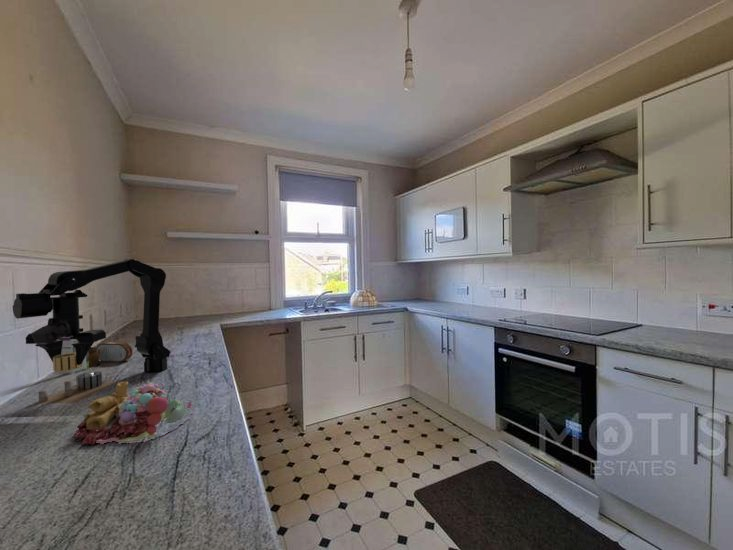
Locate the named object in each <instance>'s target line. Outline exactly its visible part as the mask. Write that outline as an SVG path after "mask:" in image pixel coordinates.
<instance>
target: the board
mask: <svg viewBox="0 0 733 550" xmlns="http://www.w3.org/2000/svg"><path fill="white" fill-rule="evenodd" d="M63 383H64V389H63V390H61V391H59V392H57V393H53V394H52V395H50V396H48V390H47V389H44V390H40V391H38V400H37V401H35V402H33V404H34V405H36V404H60V403H61V404H63V403H64V404H65V403H66V404H67V403H79V402H80V401H82V400H84V399H87V398H88V397H90V396H92V395H95V394H96V393H99V392H100V391H103V390H104V389H107V388H109V387H111V386H113V385H114V384H116V383H117V384H118V381H102V385H101V386H100V387H97V388H94V389H90V390H77V384H74V383H73V380H66V381H64V382H63Z"/></svg>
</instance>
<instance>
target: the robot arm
mask: <svg viewBox="0 0 733 550" xmlns="http://www.w3.org/2000/svg"><path fill="white" fill-rule="evenodd" d="M126 272H127V273H128V272H129V273H130V274H132V275H133V276H135V277H137V278H139V282H140V286H141V288H142V290H143V293H144V295H143V317H142V320H143V322H142V324H143V325H142V332H141V333H140V335H136V336H135V345H134V347H135V348H136V351H137V352H138V353H140V354H141V356H142V358H144V362H143V372H144V373H148V374H157V373H163V372H165V371H166V370H168V358H170V355H171V350H170V349H168V348H166V347H165V346H164V341H163V336H162V335H161V332H160V330H159V329H160V328H159V326H160V306H161V305H160V303H161V302H160V301H161V299H160V298H161V291H162V289H163V288H164V287H165V283H166V279H167V273H166V271H164V269H162V268H157V267H154V266H152V265H149V264H146V263H144V262H141V261H139V260H137V259H135V258H125V259H122V260H120V261H116V262H112V263H108V264H104V265H98V266H96V267H91V268H86V269H77V270H66V271H65V270H64V271H55V272H54V273H52V274H50V276H49V277H48V279H47V283H46V284H45V285H44V286H43V288H41V289H40V291H39V292H35V293H23V292H22V293H16V294H15V297H16V298H15V299H14V301H13V305H12V313H13V316H14V317H15V319H17V320H18V319H27V318H35V317H37V318H38V317H45V316H47V315H48V314H49V313H52V317H50V318H48V320H47V324H46V325H44V326H42V327H40V328H38V329H37V330H34V331H33V332H31V333H28V334H27V335H26V337H25V345H35V346H36V347H38V348H41V349H43V350H44V351H45V352H46V353H47V355H48V357H49V358H50V359H51V362H52V363H53V357H54V356H56V355H61V352H62V345H63V340H68V339H77V341H78V343H74V344H72V345H73V346H74V347H75V348H76V361H77V365H80V364H82V362H83V360H84V358H85V356H86V355H87V353H88V351H89V349H90V348H91V347H92V346H94V344H95V342H98V341H100V340H104V339H106V338H107V332H106V331H105V329H90V330H89V329H88V330H86V331H85V330H84V328H83V327H81V326H80V320H81V319H84V316H83V314H80V305H79V304H80V302H79V298H87V297H88V294H87V293H84V292H83V291H82V289H80V288H83V287H85V286H87V285H89V284H90V283H92V282H94V281H98V280H101V279H104V278H108V277H112V276H116V275H119V274H123V273H126ZM51 296H52V297H51Z"/></svg>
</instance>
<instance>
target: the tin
mask: <svg viewBox="0 0 733 550" xmlns="http://www.w3.org/2000/svg"><path fill="white" fill-rule="evenodd" d="M96 347H97V352H98V354H99V361H101V362H104V363H106V362H107V363H123V362H125V361H128V360H129V359H131V358H132V356H133V348H132V346H131V345H130V344H129V343H128V342H125V341H111V340H110V341H109V340H108V341H104V342H101V343H99V344H98V345H97V346H96Z"/></svg>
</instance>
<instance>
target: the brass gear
mask: <svg viewBox="0 0 733 550" xmlns="http://www.w3.org/2000/svg"><path fill="white" fill-rule="evenodd" d="M52 364H53V366H52V367H53V369H52V370H53V372H57V373H58V372H60V373H61V371H68V370H74V369H77V368H80V367H82V364H80V365H77V361H76V352H74V353H73V352H72V353H65V354H61V355H56V356H54V357H53V362H52Z"/></svg>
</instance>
